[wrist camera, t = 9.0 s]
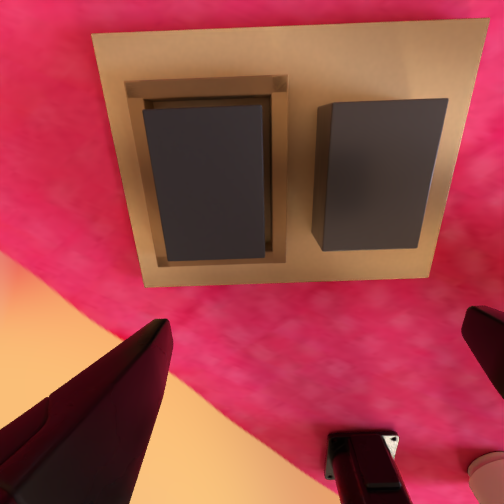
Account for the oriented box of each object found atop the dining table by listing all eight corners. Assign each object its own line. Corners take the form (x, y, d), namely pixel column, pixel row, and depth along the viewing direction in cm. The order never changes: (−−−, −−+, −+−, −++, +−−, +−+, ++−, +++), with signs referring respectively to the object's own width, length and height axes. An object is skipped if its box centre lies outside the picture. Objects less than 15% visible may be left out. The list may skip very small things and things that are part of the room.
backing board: (419, 270, 20) (458, 303, 16) (149, 279, 20) (126, 314, 17) (472, 25, 15) (552, -11, 11) (101, 40, 15) (49, 9, 11)
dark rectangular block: (262, 234, 18) (265, 258, 15) (181, 237, 18) (167, 262, 15) (259, 108, 15) (262, 104, 12) (164, 112, 15) (140, 109, 12)
